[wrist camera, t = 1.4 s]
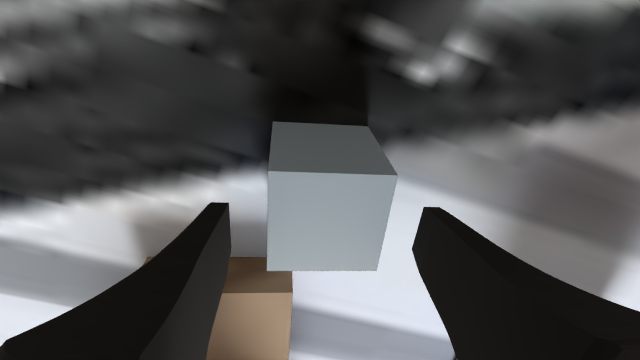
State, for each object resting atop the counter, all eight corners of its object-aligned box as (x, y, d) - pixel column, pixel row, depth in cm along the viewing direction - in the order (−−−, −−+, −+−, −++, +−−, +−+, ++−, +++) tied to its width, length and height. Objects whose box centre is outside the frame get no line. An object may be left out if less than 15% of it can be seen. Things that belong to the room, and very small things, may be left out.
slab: (291, 253, 20) (292, 292, 17) (286, 339, 24) (286, 382, 21) (149, 252, 19) (128, 294, 16) (168, 342, 23) (153, 388, 20)
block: (367, 125, 16) (397, 175, 12) (354, 204, 18) (376, 270, 14) (273, 120, 16) (268, 171, 11) (271, 202, 18) (266, 270, 13)
